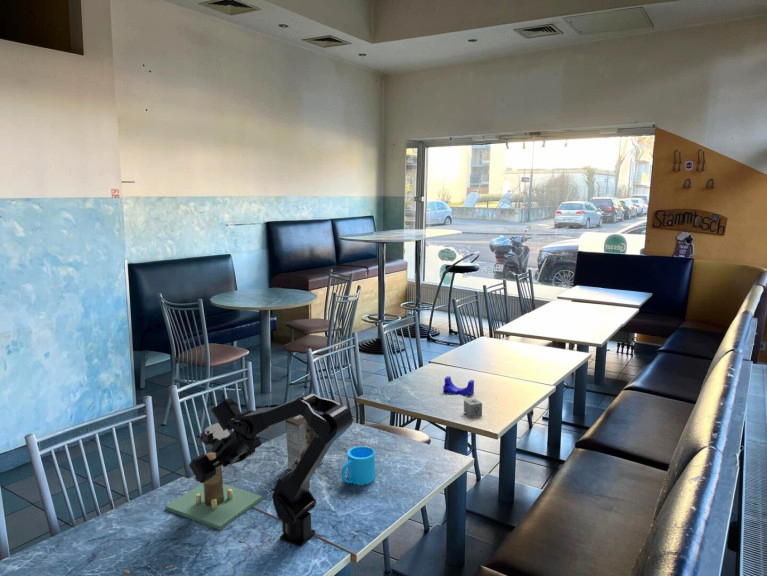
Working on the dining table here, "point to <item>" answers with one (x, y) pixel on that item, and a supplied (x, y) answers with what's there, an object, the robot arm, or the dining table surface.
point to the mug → (360, 466)
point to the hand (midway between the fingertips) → (209, 472)
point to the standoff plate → (214, 506)
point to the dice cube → (472, 407)
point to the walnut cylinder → (214, 485)
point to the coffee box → (297, 439)
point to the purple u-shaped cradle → (453, 389)
